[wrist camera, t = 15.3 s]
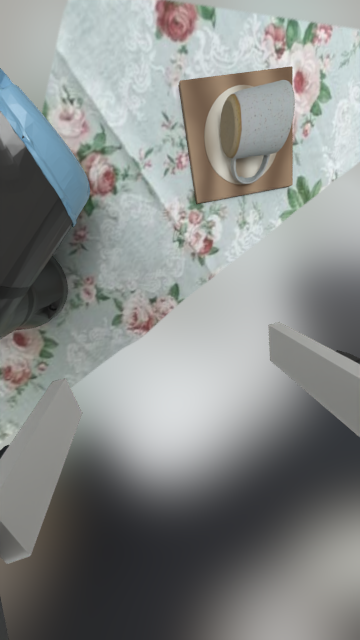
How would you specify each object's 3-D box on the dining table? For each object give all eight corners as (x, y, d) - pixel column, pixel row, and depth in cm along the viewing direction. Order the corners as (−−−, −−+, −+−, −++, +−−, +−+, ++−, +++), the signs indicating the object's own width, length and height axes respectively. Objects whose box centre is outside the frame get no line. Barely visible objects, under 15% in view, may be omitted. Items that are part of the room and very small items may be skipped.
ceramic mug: (213, 112, 32) (235, 73, 25) (263, 102, 32) (297, 62, 25) (223, 190, 36) (244, 176, 28) (267, 180, 36) (298, 164, 29)
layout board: (196, 204, 37) (198, 202, 35) (178, 85, 31) (180, 79, 30) (288, 186, 38) (293, 184, 37) (288, 71, 33) (293, 64, 32)
